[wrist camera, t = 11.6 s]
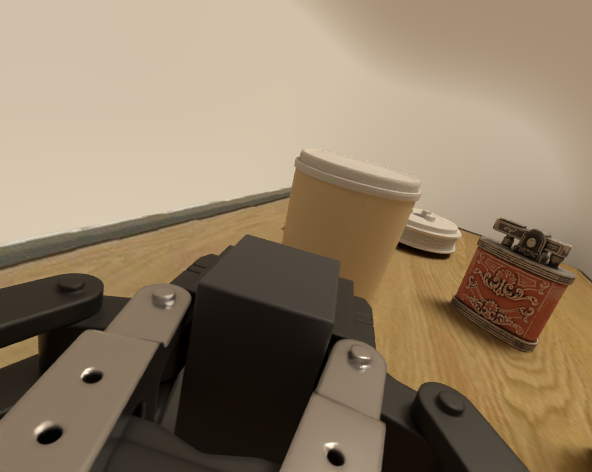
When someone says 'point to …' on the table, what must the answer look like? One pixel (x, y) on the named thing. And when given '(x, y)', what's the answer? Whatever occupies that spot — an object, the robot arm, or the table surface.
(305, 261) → the cover
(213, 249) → the table surface
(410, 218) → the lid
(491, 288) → the lighter
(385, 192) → the coffee cup
